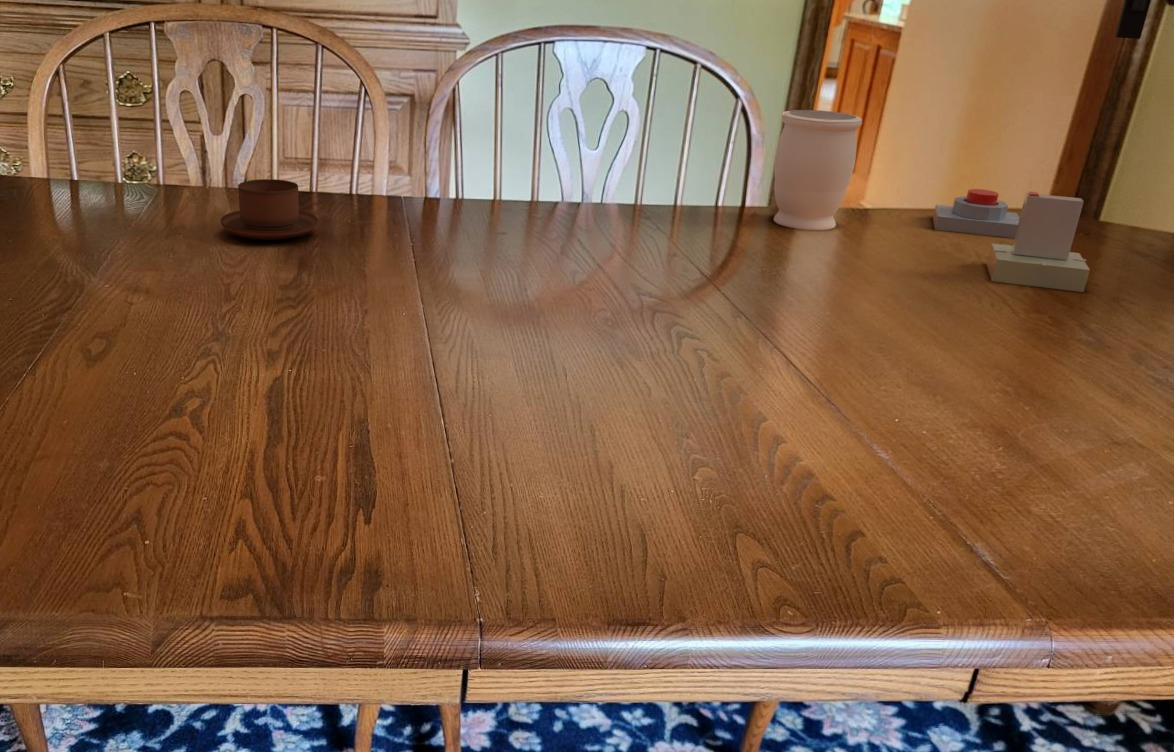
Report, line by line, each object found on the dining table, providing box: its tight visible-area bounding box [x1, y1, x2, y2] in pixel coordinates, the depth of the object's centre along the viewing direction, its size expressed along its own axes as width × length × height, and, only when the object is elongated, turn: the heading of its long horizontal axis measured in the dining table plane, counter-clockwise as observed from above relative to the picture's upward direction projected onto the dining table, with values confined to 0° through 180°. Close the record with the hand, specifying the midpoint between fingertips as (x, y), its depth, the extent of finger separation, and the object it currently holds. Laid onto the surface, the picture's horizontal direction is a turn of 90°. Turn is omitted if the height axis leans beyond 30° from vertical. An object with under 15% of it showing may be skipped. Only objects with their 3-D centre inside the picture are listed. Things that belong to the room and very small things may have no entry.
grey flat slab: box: [1012, 191, 1085, 260], centre depth 131 cm, size 6×2×7 cm, turn 72°
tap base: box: [986, 243, 1091, 293], centre depth 133 cm, size 10×10×3 cm
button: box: [966, 188, 1000, 206], centre depth 154 cm, size 4×4×2 cm
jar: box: [773, 109, 863, 231], centre depth 152 cm, size 11×10×15 cm
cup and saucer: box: [220, 178, 319, 241], centre depth 137 cm, size 12×12×6 cm
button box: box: [932, 195, 1020, 239], centre depth 155 cm, size 11×8×4 cm
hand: (1127, 37), depth 143 cm, fingers closed
